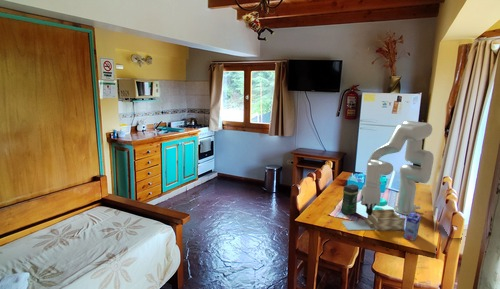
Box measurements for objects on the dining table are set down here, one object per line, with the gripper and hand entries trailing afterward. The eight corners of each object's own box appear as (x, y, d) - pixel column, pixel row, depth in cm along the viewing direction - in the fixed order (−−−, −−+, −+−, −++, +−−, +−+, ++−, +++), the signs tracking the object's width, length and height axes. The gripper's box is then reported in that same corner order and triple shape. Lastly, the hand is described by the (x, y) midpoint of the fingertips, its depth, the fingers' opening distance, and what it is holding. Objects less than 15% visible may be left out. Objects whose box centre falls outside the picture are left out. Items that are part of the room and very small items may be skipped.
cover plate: (367, 222, 181) (367, 217, 180) (375, 230, 171) (375, 225, 170) (341, 222, 180) (341, 217, 179) (347, 231, 170) (348, 225, 169)
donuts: (390, 202, 185) (374, 202, 185) (389, 217, 187) (373, 217, 187) (383, 196, 195) (368, 196, 195) (382, 210, 197) (366, 210, 197)
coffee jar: (349, 216, 187) (352, 188, 184) (339, 211, 194) (341, 184, 190) (358, 212, 193) (361, 185, 189) (348, 208, 199) (350, 182, 195)
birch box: (392, 220, 183) (393, 209, 181) (403, 230, 171) (405, 218, 169) (367, 221, 181) (368, 209, 180) (376, 230, 169) (378, 218, 168)
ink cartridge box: (414, 241, 159) (418, 216, 156) (403, 238, 162) (406, 213, 159) (418, 234, 166) (422, 210, 163) (407, 231, 169) (410, 207, 167)
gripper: (381, 181, 174) (377, 211, 178) (356, 182, 173) (353, 211, 177) (388, 186, 167) (384, 216, 171) (362, 186, 165) (359, 217, 169)
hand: (368, 214), depth 174 cm, fingers closed
